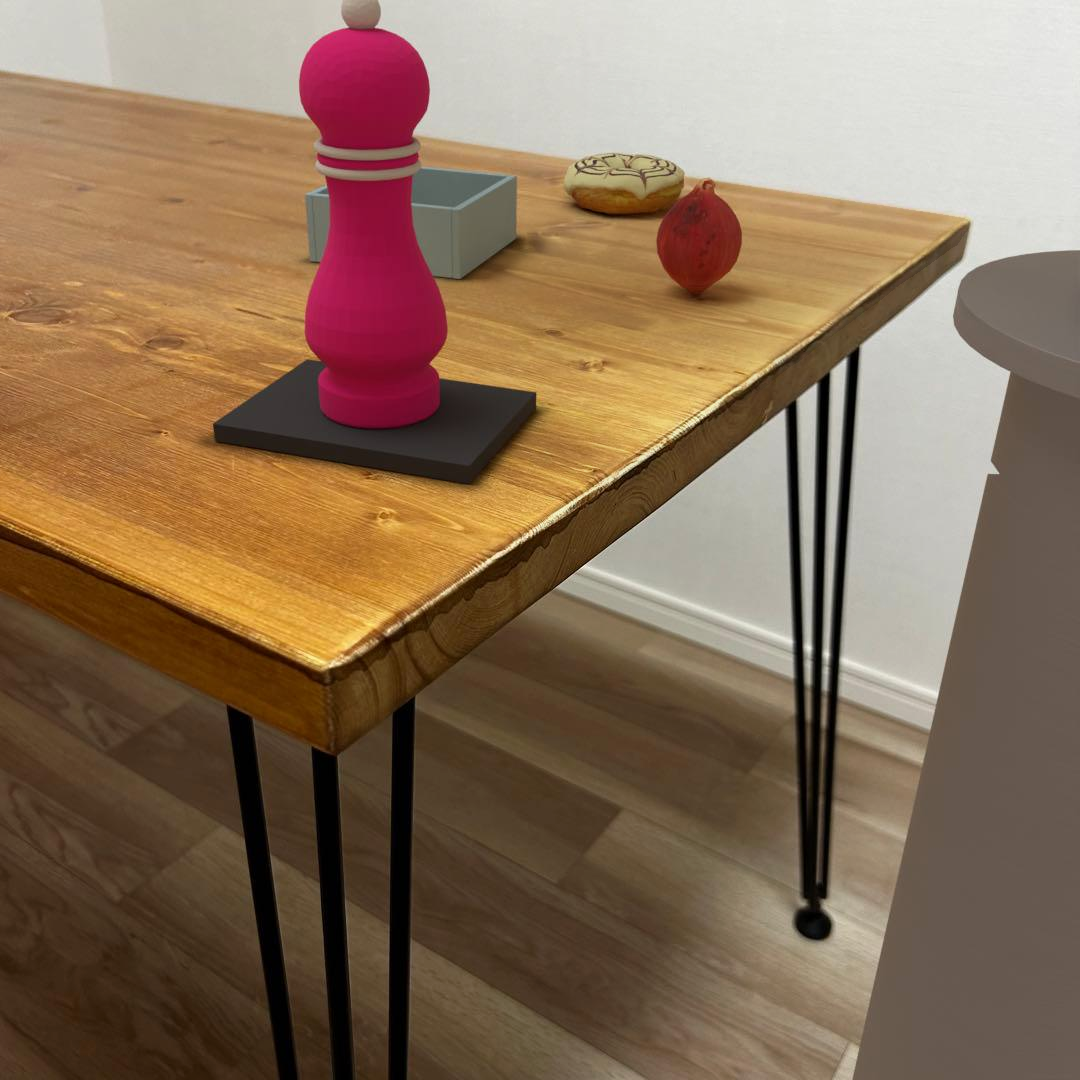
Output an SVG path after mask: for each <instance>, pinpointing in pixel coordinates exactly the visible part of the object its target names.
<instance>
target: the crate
mask: <svg viewBox="0 0 1080 1080" xmlns="http://www.w3.org/2000/svg"><path fill="white" fill-rule="evenodd" d="M304 201H305V214H306V227H307V228H306V229H307V238H308V242H307V243H308V254H309V261H310V262H312V263H313V262H314V263H320V262H321V260H322V257H323V254H324V250H325V247H326V244H327V239H328V233H329V226H330V200H329V194H328V189H327V184H325V185H322V186H320V187H318V188H316V189H313V190H311V191H309V192H307V193H305V194H304ZM517 203H518V175H516V174H504V173H495V172H482V171H473V170H461V169H451V168H441V167H429V166H421V169H420V170H419V171H418V172H417V173H415V174H413V179H412V194H411V205H412V217H413V226H414V230H415V234H416V238H417V242H418V245H419V247H420V250H421V252H422V254H423V257H424V259H425V261H426V263H427V265H428V267H429V269H430V271H431V273H432V275H433V277H438V278H445V279H446V278H447V279H454V280H455V279H456V280H462V279H463V278H464V277H466V276H467V275H468V274H469V273H471V272H473V271H474V270H475V269H477V268H478V267H479V266H481V265H482V264H483V263H484V262H486V261H487V260H489V259H490V258H491V257H493V256H494V255H495V254H497V253H498V252H500V251H502V249H504V248H505V247H507V246H508V245H510V244H511V243H512V242H513V241H515V240H516V239H517V213H518V212H517V211H518V210H517V209H518V207H517V206H518V204H517Z"/></svg>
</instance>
